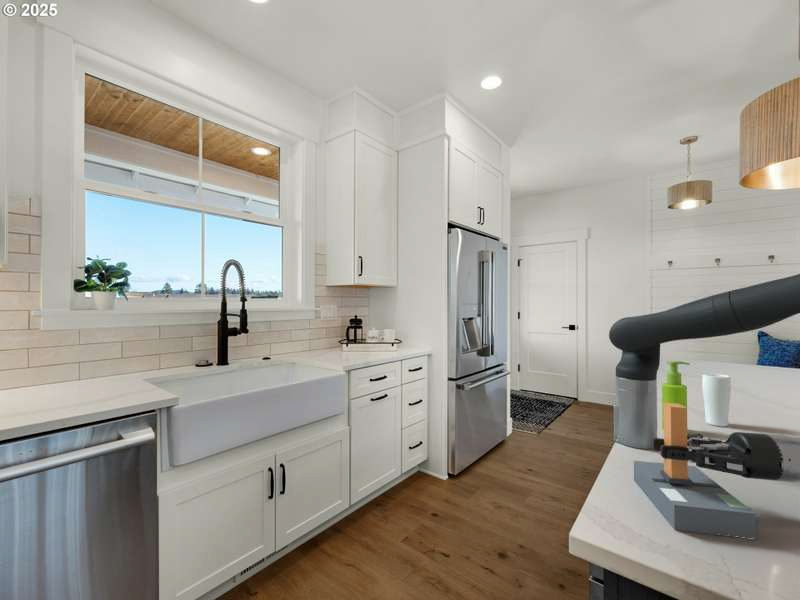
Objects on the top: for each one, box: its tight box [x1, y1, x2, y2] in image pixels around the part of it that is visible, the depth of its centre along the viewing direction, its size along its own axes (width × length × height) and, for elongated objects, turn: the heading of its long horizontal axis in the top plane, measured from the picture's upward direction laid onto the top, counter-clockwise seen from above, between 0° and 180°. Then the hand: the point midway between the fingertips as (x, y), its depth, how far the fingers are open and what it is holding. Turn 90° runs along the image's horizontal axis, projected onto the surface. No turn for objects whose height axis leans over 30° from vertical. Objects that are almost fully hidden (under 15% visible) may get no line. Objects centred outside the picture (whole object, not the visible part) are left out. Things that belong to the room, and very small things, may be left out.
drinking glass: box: [701, 373, 732, 428], centre depth 116 cm, size 7×7×15 cm
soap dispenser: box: [661, 360, 690, 430], centre depth 110 cm, size 6×7×20 cm
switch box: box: [633, 460, 757, 540], centre depth 69 cm, size 11×18×4 cm, turn 166°
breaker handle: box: [660, 403, 692, 485], centre depth 69 cm, size 4×4×14 cm
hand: (657, 447), depth 70 cm, fingers closed on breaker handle, 3 cm apart
